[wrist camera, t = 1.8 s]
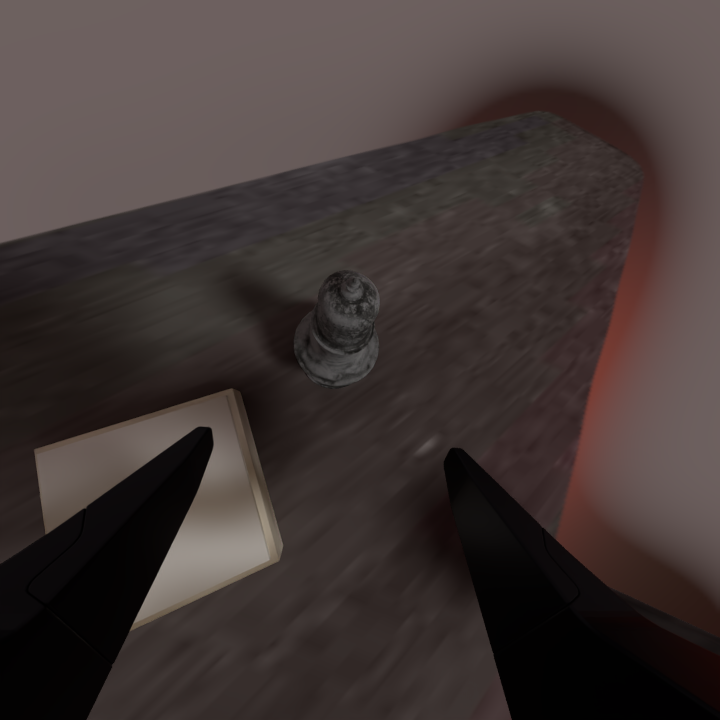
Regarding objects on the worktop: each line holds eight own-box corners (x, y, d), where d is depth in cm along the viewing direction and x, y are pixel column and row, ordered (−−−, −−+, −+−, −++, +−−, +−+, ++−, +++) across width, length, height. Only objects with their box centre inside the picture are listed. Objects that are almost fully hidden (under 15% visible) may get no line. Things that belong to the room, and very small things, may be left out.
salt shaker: (316, 405, 21) (318, 380, 9) (284, 339, 21) (249, 239, 10) (381, 373, 22) (454, 316, 11) (349, 312, 23) (384, 198, 11)
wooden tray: (283, 545, 18) (278, 564, 16) (95, 631, 16) (55, 669, 13) (240, 391, 20) (230, 387, 18) (66, 446, 17) (27, 450, 15)
